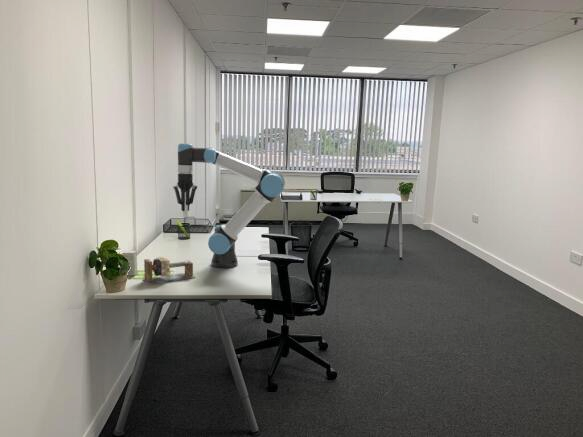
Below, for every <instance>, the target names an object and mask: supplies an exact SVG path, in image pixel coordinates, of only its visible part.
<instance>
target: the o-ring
mask: <svg viewBox="0 0 583 437" xmlns="http://www.w3.org/2000/svg"><path fill="white" fill-rule="evenodd" d="M155 264H156V266H157V270H156V271H153V274H154V275H155V277H159V276H160V275H161V272H162V267H161V262H160V260H159V259H156V258H154V259H153V261H152V265H155Z"/></svg>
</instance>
